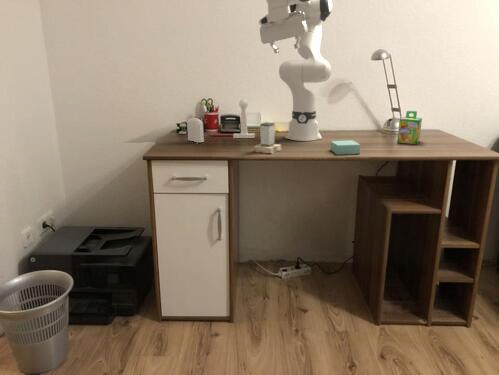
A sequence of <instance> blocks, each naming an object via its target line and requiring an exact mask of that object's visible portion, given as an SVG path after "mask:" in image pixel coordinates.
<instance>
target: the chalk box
mask: <svg viewBox="0 0 499 375" xmlns="http://www.w3.org/2000/svg"><path fill="white" fill-rule="evenodd" d="M411 114H413V115H412V116H410V115H411ZM417 114H418V112H417V111H416V110H407V111H406V114H405V116H402V117H401V118H399V121H398V123H399V124H398V130H397V131H398V132H397V139H396V140H397V144H408V145H418V144H419V142H420V140H421V139H420V138H421V129H422V122H423V121H422V120H423V118H422V117H417V116H418V115H417Z"/></svg>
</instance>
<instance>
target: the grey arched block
mask: <svg viewBox="0 0 499 375" xmlns="http://www.w3.org/2000/svg"><path fill="white" fill-rule="evenodd" d="M186 128H187V141H188V140H190V141H194V142H205V139H204V138H205V137H204V136H205V135H204V122H203V121H202V120H201V119H200V118H197V117H190V118H189V119H187V122H186Z"/></svg>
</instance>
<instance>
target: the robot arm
mask: <svg viewBox="0 0 499 375" xmlns="http://www.w3.org/2000/svg"><path fill="white" fill-rule="evenodd" d="M266 3H267V12H268V13H267V14H266V15H265V16H263V17H262V18H260V19H259V21H258V24H259V25H260V28H259V35H260V41H261V43H262V44H263V45H265V44H269V45H270V47H271V48H272V49H273V52H274V54H278V53H280V49H279V47H277V46H276V42H278V41H282V40H287V39H291V38H295V39H294V40H296V41H295V43H294V44H293V47H294V49H295V50H296V49H297V52H298V55H299V56H301V58H303V59H290V60H286V61H283V62H282V63H281V64H280V65H279V69H278V74H279V78H280V80H281V81H282V82H284V83H285V84H286V85H287V87H288V88H289V90H290V92H291V96H292V107H293V108H292V112H291V118H292V119H291V120H289V121H288V134H287V135H285V136H284V137H285V138H284V139H289V140H292V141H302V142H305V141H306V142H307V141H308V142H309V141H316V140H322V139H323V137H322V135H321V134H320V129H319V122H318V121H317V120H316V118H317V112H316V95H315V93H314V92H312V91H311V90H309V89H307V88H306V87H305V84H307V83H308V84H309V83H311V84H312V83H313V84H314V83H324V82H327V81H328V80H329V79H330V77H331V74H332V66H331V64H330V63H329V61H328V60H326V59H325V58H324V57H323V56H322V54H321V46H322V44H321V43H322V38H323V27H322V22H324V23H325V22H326V21H327V18H329V16H330V15H331V13H332V9H333V2H332V0H266Z"/></svg>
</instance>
